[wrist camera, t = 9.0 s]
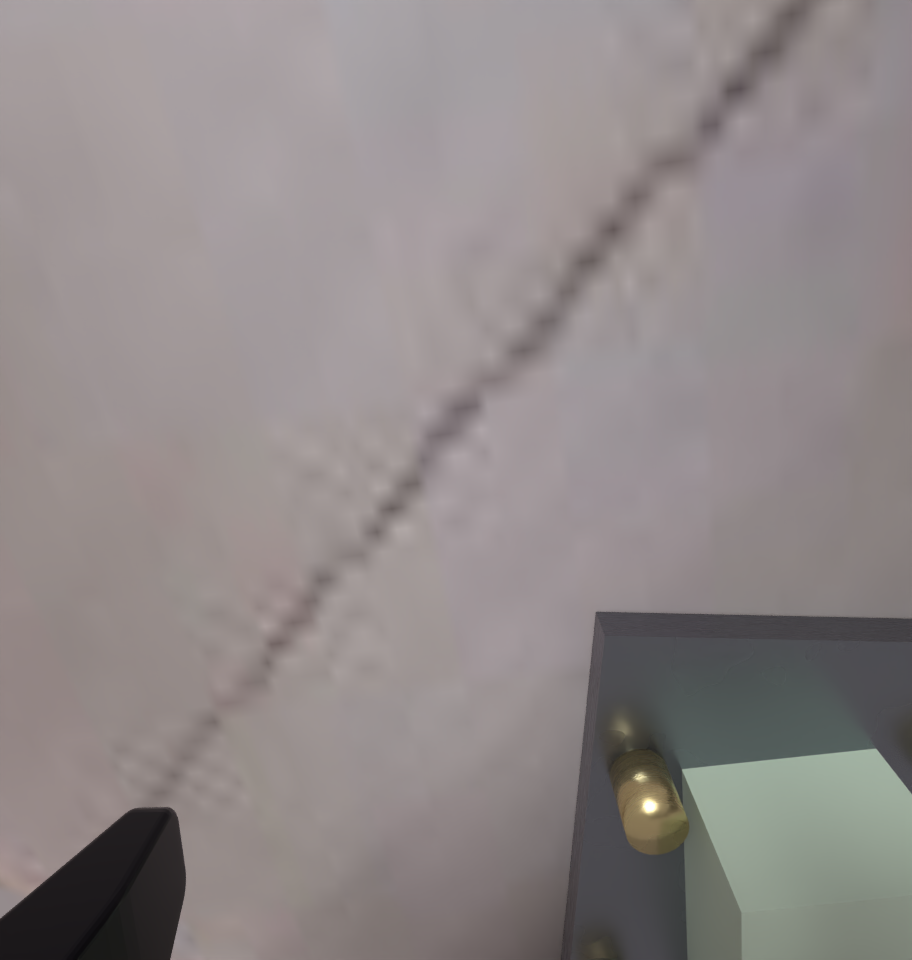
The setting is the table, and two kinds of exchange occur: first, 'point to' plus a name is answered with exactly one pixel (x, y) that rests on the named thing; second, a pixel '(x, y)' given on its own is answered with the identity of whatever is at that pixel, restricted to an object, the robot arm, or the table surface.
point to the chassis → (709, 745)
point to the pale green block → (798, 859)
